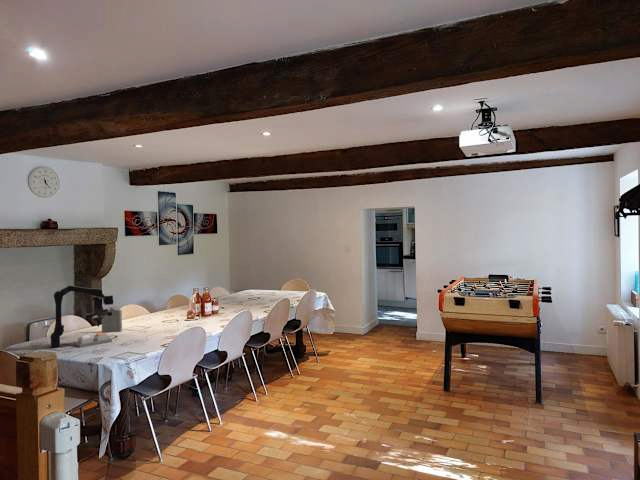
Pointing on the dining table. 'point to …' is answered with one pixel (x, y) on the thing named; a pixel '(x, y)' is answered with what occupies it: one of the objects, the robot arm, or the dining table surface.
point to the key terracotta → (100, 334)
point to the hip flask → (112, 321)
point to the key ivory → (85, 337)
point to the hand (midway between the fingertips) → (98, 326)
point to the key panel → (92, 341)
